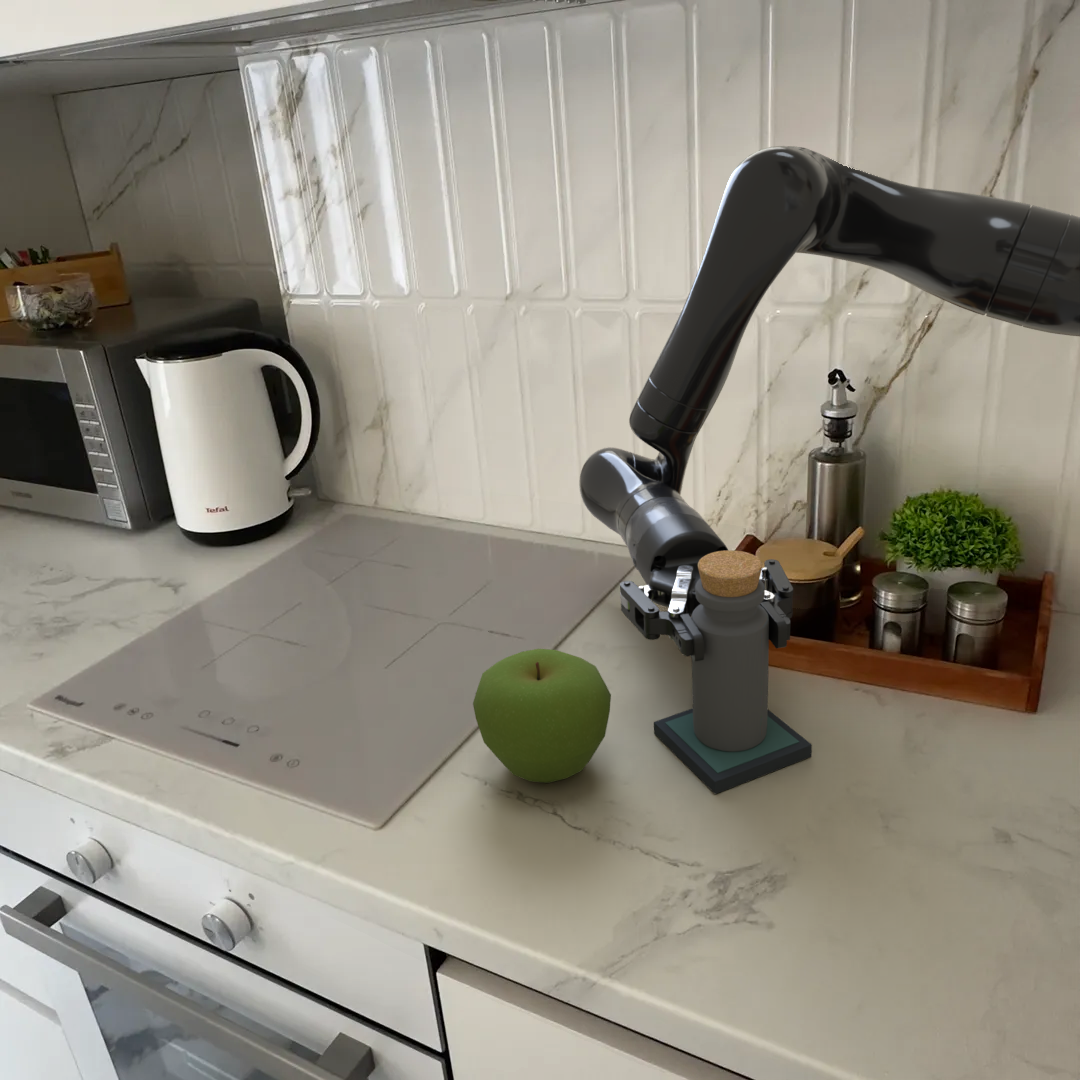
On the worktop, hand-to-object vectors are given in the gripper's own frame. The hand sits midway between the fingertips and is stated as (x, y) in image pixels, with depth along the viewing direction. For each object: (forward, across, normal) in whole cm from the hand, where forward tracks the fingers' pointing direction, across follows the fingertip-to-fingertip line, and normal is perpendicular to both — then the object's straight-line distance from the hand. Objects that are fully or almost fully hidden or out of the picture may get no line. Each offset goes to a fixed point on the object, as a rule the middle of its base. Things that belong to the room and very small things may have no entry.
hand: (741, 643), depth 72 cm
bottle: (-2, 0, +10) cm, 10 cm away
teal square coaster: (-2, 0, +11) cm, 11 cm away
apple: (-3, -15, +11) cm, 19 cm away
